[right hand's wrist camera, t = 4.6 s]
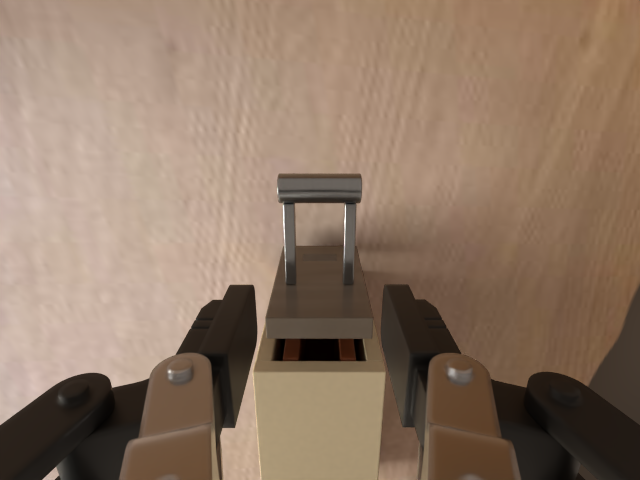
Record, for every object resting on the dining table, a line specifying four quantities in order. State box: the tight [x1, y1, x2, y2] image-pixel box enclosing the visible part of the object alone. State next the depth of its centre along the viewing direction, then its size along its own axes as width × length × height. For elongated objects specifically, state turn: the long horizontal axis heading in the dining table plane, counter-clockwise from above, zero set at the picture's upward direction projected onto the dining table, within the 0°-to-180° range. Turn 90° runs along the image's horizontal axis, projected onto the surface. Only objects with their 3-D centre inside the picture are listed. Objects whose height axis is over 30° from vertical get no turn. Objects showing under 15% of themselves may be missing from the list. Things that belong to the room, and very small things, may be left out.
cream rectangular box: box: [253, 271, 386, 480], centre depth 27 cm, size 20×6×11 cm, turn 0°
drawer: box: [265, 174, 374, 361], centre depth 25 cm, size 25×5×9 cm, turn 0°
